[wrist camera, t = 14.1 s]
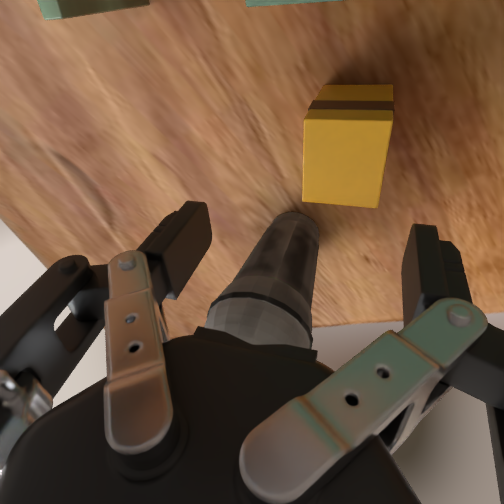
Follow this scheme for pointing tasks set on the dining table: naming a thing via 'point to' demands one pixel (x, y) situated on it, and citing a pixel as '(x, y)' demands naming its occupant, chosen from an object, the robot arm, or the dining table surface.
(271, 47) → the dining table surface
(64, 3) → the drawer
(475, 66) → the dining table surface
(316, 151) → the snack box
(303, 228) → the beverage cup
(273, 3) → the cabinet
